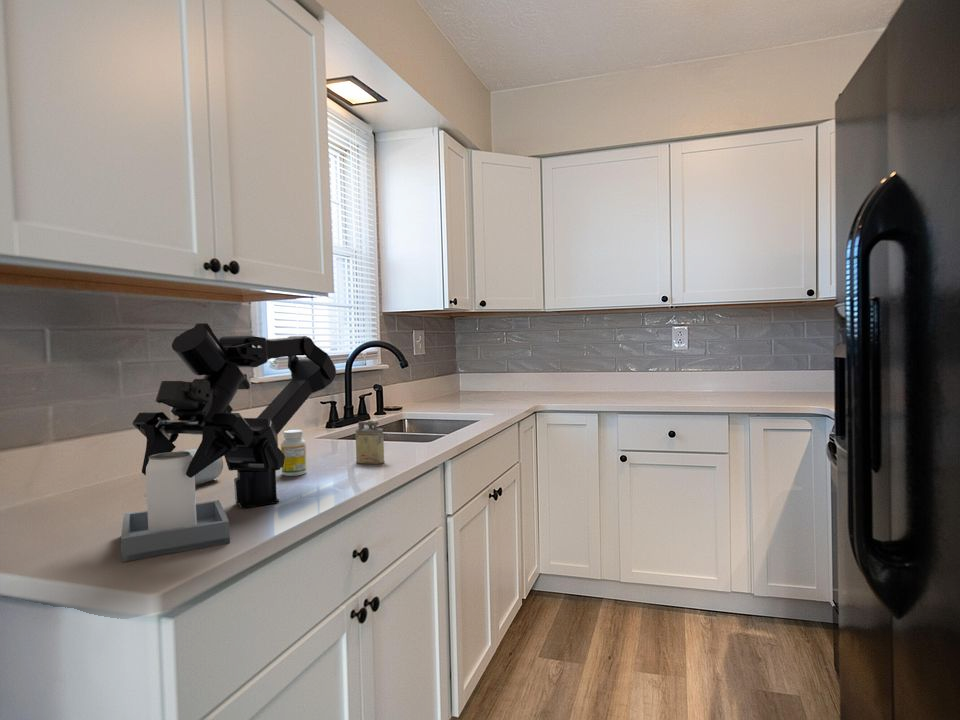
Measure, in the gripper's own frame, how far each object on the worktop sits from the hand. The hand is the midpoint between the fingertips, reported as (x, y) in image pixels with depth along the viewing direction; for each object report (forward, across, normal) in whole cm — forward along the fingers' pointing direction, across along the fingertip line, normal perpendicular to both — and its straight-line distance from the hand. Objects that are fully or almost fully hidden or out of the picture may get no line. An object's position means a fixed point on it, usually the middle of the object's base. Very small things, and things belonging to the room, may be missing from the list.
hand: (166, 475), depth 87 cm
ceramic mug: (-15, -23, +30) cm, 40 cm away
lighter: (-33, +6, +47) cm, 58 cm away
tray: (+6, 0, +8) cm, 10 cm away
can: (+6, 0, +7) cm, 9 cm away
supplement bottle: (-23, -6, +38) cm, 45 cm away
